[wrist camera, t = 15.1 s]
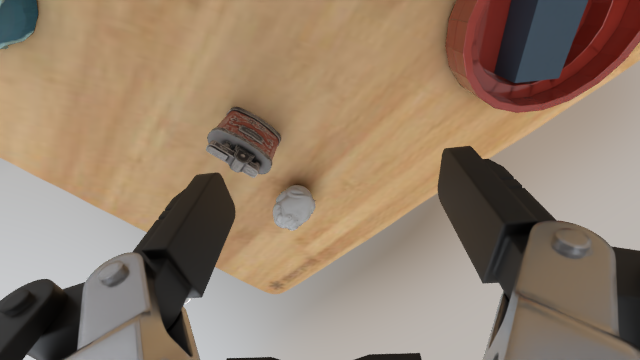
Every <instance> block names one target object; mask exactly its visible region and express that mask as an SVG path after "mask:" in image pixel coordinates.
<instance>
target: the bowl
mask: <svg viewBox="0 0 640 360" xmlns="http://www.w3.org/2000/svg"><path fill="white" fill-rule="evenodd" d="M510 4H511V0H456V3H455V5H454V8H453V10H452V12H451V15H450V17H449V22H448V30H447V37H446V52H447V57H448V62H449V67H450V69H451V71H452V72H453V74H454V76H455V77H456V79H457V80H458V82H459V84H460V85H462V86H463V87H464V88H466V89H467V90H469V91H470V92H472V93H473V94H475V95H476V96H478V97H479V98H480V99H482V100H483V101H485V102H486V103H488V104H489V105H491V106H492V107H494V108H496V109H501V110H506V111H510V112H515V113H519V112H529V111H539V110H544V109H547V108H550V107H553V106H556V105H558V104H561V103H564V102H567V101H569V100H571V99H573V98H575V97H576V96H578V95H580V94H581V93H583V92H585V91H586V90H588V89H590V88H591V87H593V86H595V85H596V84H598V83H599V82H601V81H602V80H603V79H604V78H605V77H606V76H607V75H609V74H610V73H611V72H612V71H613V70H614V69H615V68H617V67H618V66H619V65H620V64H621V63H622V62H623V61H625V59H626V58H627V57H628V56H629V54H630V53H631V52H632V51H633V49H634V48H635V47H636V46H637V44H638V43H639V42H640V0H588V2H587V5H586V8H585V10H584V13H583V16H582V18H581V21H580V24H579V26H578V29H577V32H576V34H575V37H574V40H573V42H572V45H571V48H570V50H569V53H568V56H567V58H566V61H565V64H564V66H563V69H562V72H561V74H560V77H559V78H558V79H549V80H540V81H531V82H522V83H513V82H511V81H509V80H507V79H505V78H503V77H500V76H498V75H496V74H494V71H495V67H496V63H497V59H498V55H499V50H500V46H501V42H502V38H503V34H504V29H505V25H506V21H507V17H508V13H509V8H510Z"/></svg>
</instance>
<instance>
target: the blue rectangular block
mask: <svg viewBox="0 0 640 360" xmlns="http://www.w3.org/2000/svg"><path fill="white" fill-rule="evenodd" d="M587 2H588V0H511V4H510V8H509V13H508V17H507V21H506V25H505V29H504V34H503V38H502V42H501V46H500V50H499V55H498V59H497V63H496V67H495V71H494V74H496V75H498V76H500V77H503V78H505V79H507V80H509V81H511V82H513V83H522V82H531V81H540V80H549V79H558V78H559V77H560V74H561V72H562V69H563V66H564V64H565V61H566V58H567V56H568V53H569V50H570V48H571V45H572V42H573V40H574V37H575V34H576V32H577V29H578V26H579V24H580V21H581V18H582V16H583V13H584V10H585V8H586V5H587Z"/></svg>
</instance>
